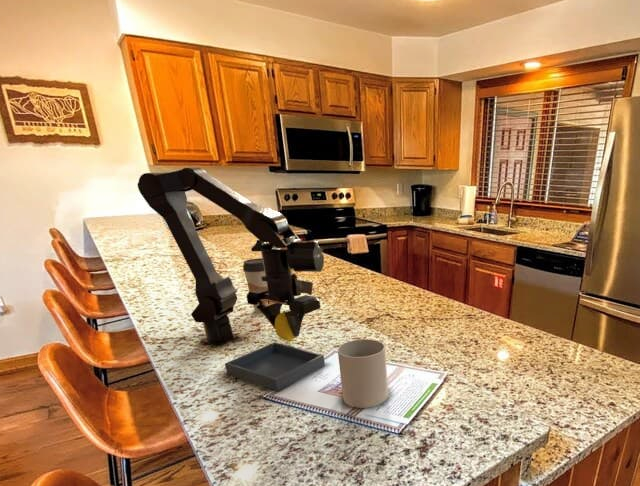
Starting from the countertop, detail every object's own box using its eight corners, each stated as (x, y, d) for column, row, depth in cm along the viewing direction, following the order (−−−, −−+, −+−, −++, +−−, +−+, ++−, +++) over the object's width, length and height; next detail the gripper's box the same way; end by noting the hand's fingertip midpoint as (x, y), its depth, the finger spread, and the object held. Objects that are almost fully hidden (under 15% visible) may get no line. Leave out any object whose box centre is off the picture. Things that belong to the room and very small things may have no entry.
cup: (367, 412, 75) (363, 361, 71) (333, 400, 79) (327, 351, 75) (396, 392, 82) (394, 344, 78) (363, 382, 86) (359, 336, 82)
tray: (227, 374, 90) (224, 363, 89) (276, 352, 100) (274, 342, 99) (277, 391, 83) (275, 379, 82) (325, 365, 93) (323, 355, 92)
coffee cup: (286, 309, 130) (278, 259, 123) (263, 316, 123) (253, 265, 117) (269, 305, 134) (260, 256, 128) (245, 312, 127) (235, 262, 121)
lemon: (294, 347, 102) (289, 315, 99) (273, 345, 103) (267, 313, 100) (305, 338, 107) (300, 308, 103) (285, 337, 108) (279, 306, 104)
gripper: (333, 268, 100) (339, 330, 106) (277, 260, 108) (286, 318, 115) (297, 278, 91) (306, 345, 97) (239, 269, 99) (252, 331, 106)
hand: (288, 334), depth 104 cm, fingers closed on lemon, 5 cm apart
